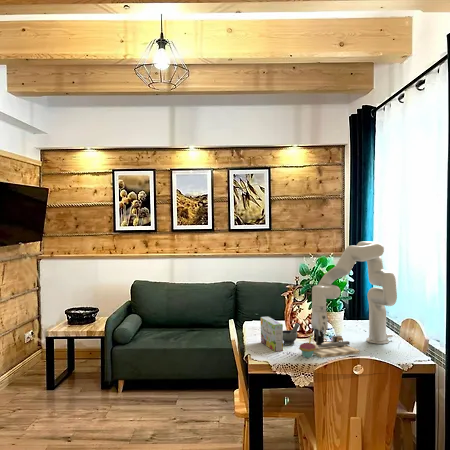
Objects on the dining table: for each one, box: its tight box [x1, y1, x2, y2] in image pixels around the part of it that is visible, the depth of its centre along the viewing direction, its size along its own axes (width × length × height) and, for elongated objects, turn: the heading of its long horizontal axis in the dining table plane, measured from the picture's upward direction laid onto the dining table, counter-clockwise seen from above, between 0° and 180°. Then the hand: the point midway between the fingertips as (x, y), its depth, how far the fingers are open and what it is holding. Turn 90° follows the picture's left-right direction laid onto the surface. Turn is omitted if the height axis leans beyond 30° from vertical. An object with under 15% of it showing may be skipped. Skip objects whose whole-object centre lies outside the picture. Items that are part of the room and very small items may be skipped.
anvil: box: [331, 334, 343, 342], centre depth 303 cm, size 5×2×3 cm, turn 111°
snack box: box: [259, 316, 284, 353], centre depth 298 cm, size 21×6×15 cm, turn 18°
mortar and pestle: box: [283, 322, 301, 346], centre depth 304 cm, size 11×9×12 cm
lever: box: [315, 330, 351, 348], centre depth 291 cm, size 20×3×10 cm, turn 111°
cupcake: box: [298, 334, 316, 358], centre depth 278 cm, size 9×8×12 cm
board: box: [312, 340, 361, 359], centre depth 290 cm, size 24×22×2 cm
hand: (318, 341), depth 288 cm, fingers closed on lever, 3 cm apart
